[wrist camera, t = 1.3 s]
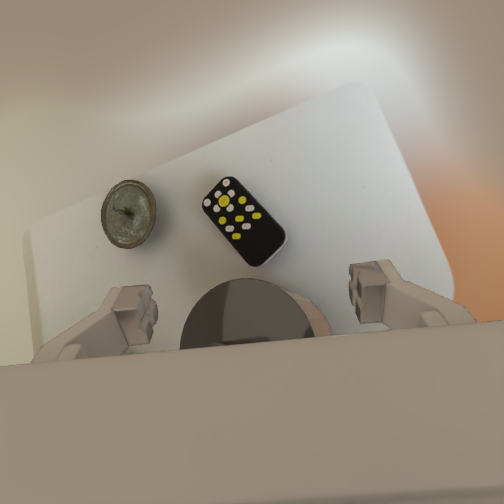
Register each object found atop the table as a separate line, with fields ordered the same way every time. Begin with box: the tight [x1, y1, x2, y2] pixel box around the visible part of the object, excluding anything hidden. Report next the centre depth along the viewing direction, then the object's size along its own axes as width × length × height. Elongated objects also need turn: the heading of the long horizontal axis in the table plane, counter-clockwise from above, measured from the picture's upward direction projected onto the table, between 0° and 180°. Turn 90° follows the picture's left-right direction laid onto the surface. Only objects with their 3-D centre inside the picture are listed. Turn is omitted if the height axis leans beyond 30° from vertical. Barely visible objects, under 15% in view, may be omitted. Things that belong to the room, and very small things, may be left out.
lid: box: [101, 180, 156, 249], centre depth 52 cm, size 11×10×5 cm
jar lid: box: [180, 279, 316, 350], centre depth 30 cm, size 14×14×6 cm
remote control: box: [202, 177, 287, 267], centre depth 45 cm, size 6×13×2 cm, turn 40°
